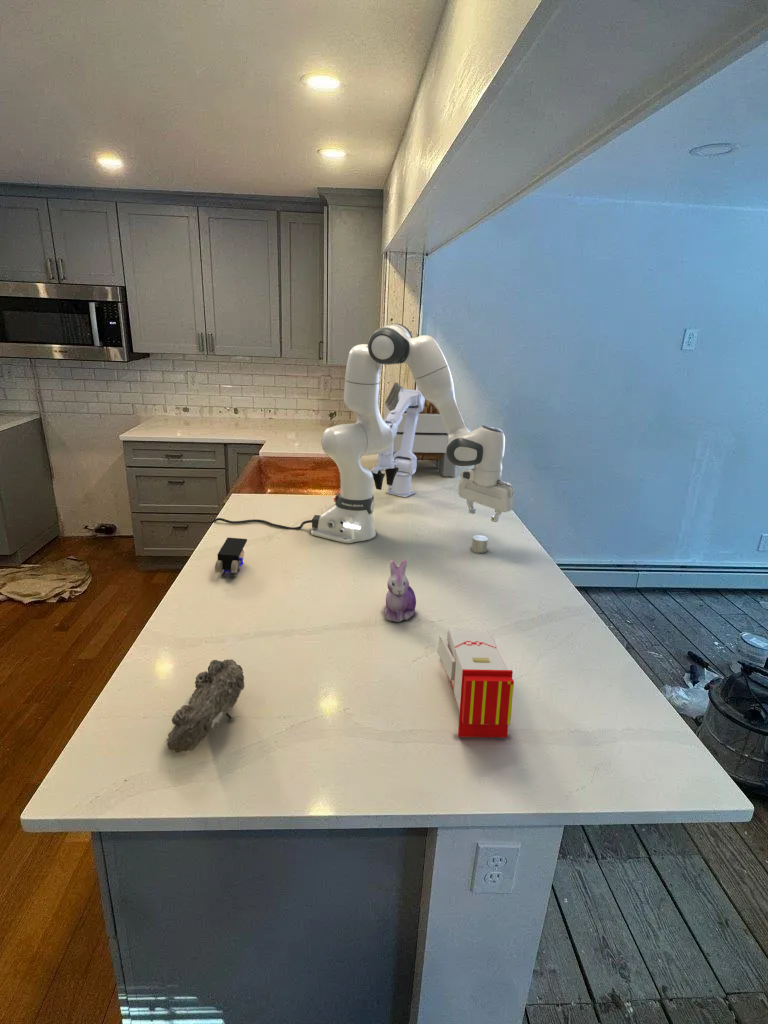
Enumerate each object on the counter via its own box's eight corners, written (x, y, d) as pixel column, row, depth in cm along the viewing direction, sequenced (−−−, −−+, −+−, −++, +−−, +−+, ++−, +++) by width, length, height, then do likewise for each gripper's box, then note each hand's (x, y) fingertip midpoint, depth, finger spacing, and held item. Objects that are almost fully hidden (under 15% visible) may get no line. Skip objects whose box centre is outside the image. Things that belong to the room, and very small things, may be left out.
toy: (488, 613, 130) (523, 677, 101) (484, 667, 133) (517, 744, 104) (435, 612, 130) (455, 676, 101) (432, 666, 133) (451, 743, 103)
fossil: (192, 660, 117) (244, 628, 112) (224, 691, 120) (276, 661, 115) (142, 746, 98) (202, 712, 93) (182, 779, 101) (242, 748, 96)
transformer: (380, 458, 298) (383, 379, 285) (441, 459, 302) (447, 381, 288) (387, 476, 267) (391, 388, 253) (455, 477, 270) (463, 391, 257)
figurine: (392, 627, 141) (395, 572, 136) (374, 608, 149) (376, 556, 144) (425, 619, 145) (429, 566, 140) (405, 601, 154) (408, 550, 149)
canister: (471, 552, 187) (472, 540, 186) (471, 546, 192) (472, 534, 191) (486, 553, 187) (488, 541, 185) (486, 547, 192) (487, 535, 190)
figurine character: (238, 584, 162) (249, 557, 175) (236, 562, 158) (247, 536, 172) (215, 584, 161) (227, 556, 175) (212, 561, 158) (225, 535, 171)
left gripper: (520, 483, 176) (514, 524, 180) (469, 468, 190) (465, 507, 194) (507, 486, 172) (502, 528, 176) (457, 470, 186) (453, 510, 190)
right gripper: (383, 458, 212) (382, 493, 217) (404, 452, 223) (402, 485, 228) (368, 455, 216) (367, 489, 220) (389, 449, 227) (388, 481, 232)
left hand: (482, 517), depth 185 cm, fingers open, 8 cm apart
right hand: (384, 487), depth 224 cm, fingers open, 7 cm apart
